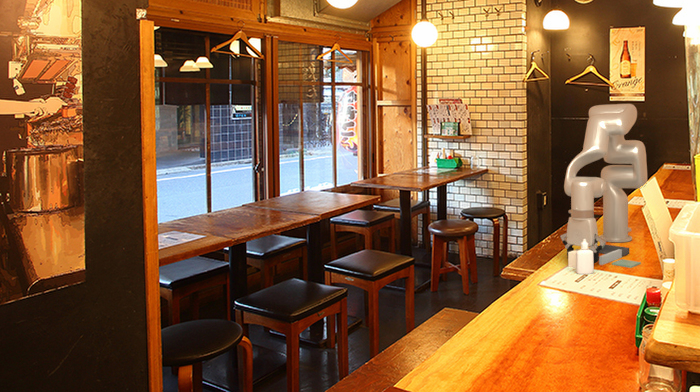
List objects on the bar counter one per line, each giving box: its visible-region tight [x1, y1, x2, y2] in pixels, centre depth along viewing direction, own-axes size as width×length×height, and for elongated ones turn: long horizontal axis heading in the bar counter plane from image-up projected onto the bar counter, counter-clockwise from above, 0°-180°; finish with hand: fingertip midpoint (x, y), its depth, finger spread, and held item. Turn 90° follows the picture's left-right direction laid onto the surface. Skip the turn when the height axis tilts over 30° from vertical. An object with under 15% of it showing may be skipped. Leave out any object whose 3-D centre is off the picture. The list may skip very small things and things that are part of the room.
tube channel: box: [588, 247, 623, 266], centre depth 222 cm, size 14×10×3 cm
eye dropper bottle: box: [575, 239, 595, 275], centre depth 205 cm, size 4×6×12 cm
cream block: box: [567, 248, 581, 269], centre depth 214 cm, size 6×5×6 cm
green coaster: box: [611, 258, 642, 269], centre depth 213 cm, size 7×7×1 cm
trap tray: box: [599, 244, 630, 258], centre depth 229 cm, size 5×10×2 cm, turn 38°
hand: (582, 260), depth 216 cm, fingers open, 9 cm apart
